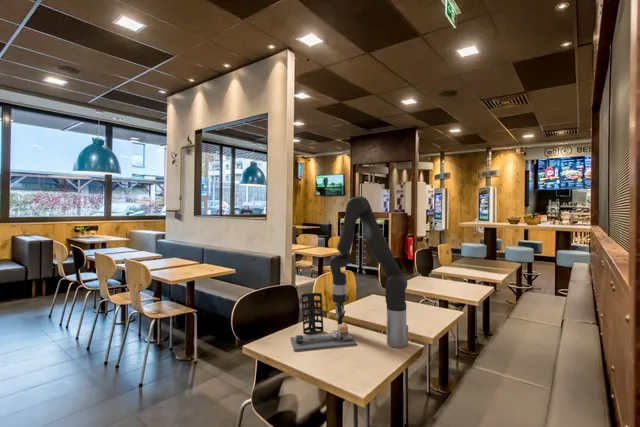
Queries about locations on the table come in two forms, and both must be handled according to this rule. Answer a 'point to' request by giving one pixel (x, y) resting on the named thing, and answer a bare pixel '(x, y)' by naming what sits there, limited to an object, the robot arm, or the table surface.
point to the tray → (320, 344)
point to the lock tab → (342, 328)
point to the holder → (312, 313)
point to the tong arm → (312, 336)
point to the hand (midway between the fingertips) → (339, 324)
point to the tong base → (335, 336)
